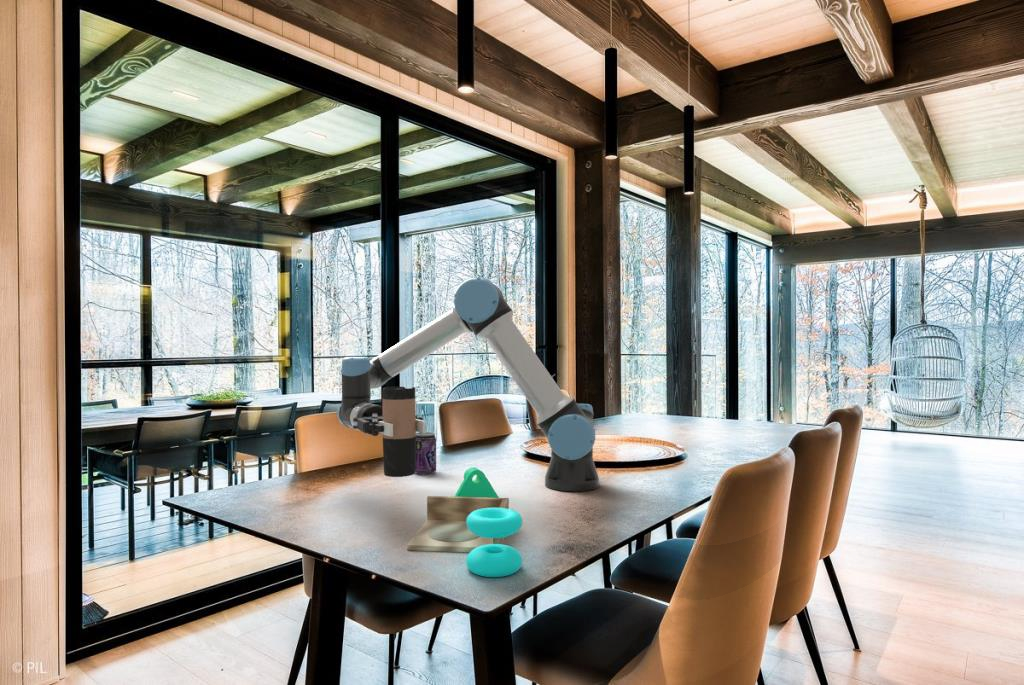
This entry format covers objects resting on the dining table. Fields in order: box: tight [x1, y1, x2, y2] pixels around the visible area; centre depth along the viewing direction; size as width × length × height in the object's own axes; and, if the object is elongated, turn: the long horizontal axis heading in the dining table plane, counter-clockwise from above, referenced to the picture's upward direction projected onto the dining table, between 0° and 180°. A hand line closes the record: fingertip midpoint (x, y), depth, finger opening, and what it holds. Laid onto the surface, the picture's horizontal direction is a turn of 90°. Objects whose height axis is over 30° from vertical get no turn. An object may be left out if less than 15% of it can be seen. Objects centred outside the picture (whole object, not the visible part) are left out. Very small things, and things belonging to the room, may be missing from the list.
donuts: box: [465, 508, 523, 578], centre depth 110 cm, size 10×10×10 cm
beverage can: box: [415, 431, 437, 475], centre depth 190 cm, size 7×7×12 cm
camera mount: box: [448, 466, 500, 498], centre depth 150 cm, size 12×8×10 cm, turn 112°
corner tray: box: [406, 495, 510, 553], centre depth 128 cm, size 18×18×6 cm
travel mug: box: [382, 386, 417, 478], centre depth 143 cm, size 8×8×20 cm
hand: (408, 428), depth 139 cm, fingers closed on travel mug, 7 cm apart
